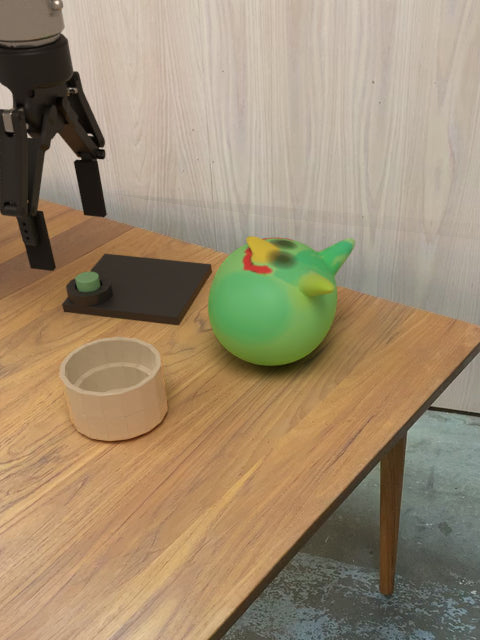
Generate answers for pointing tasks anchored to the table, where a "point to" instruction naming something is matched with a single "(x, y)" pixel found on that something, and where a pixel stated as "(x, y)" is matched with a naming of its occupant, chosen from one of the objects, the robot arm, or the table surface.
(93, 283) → the button
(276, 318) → the toy bird
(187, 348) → the table surface
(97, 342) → the bowl
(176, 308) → the scale
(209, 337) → the table surface
